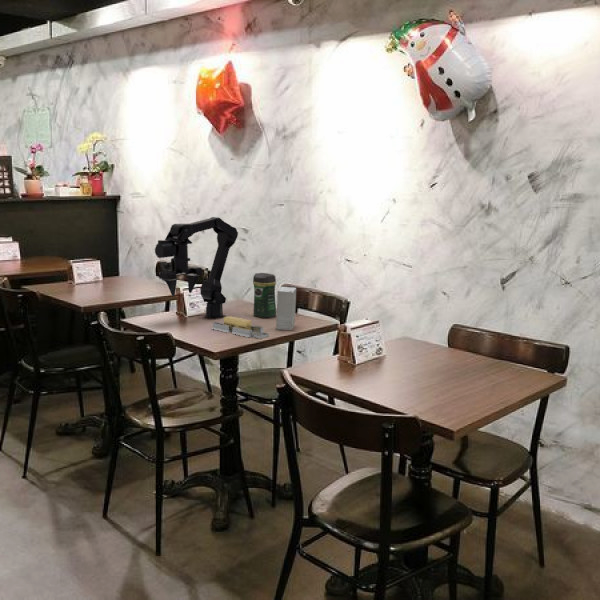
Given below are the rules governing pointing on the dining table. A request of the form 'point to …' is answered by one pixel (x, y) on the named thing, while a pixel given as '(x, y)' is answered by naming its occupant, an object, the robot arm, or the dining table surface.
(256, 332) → the chain ends
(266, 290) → the coffee jar
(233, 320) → the master link bar
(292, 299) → the skincare box
